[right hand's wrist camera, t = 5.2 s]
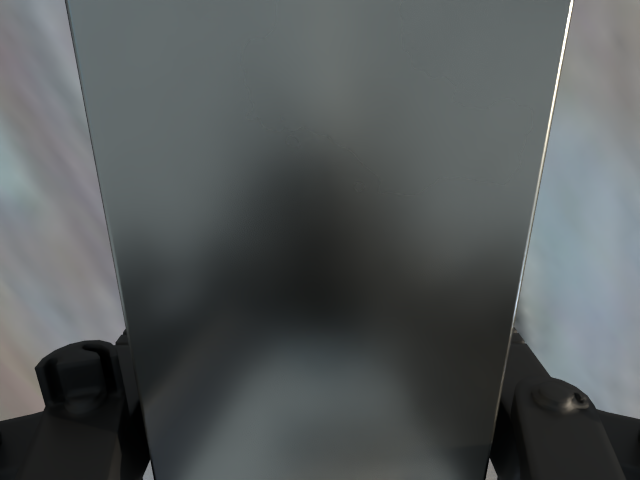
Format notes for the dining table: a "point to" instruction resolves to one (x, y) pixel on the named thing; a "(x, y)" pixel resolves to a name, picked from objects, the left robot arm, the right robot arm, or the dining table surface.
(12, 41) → the dining table surface
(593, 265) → the dining table surface
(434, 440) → the bar
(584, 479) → the right robot arm
